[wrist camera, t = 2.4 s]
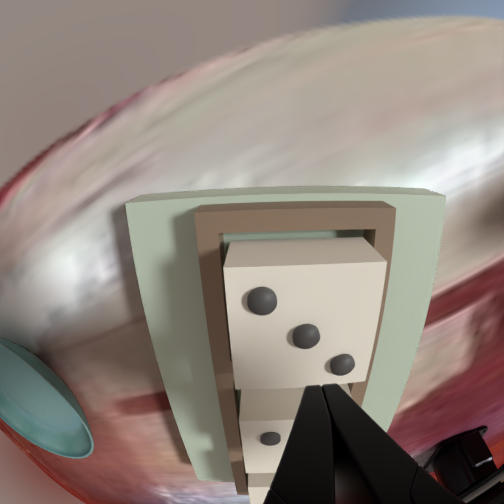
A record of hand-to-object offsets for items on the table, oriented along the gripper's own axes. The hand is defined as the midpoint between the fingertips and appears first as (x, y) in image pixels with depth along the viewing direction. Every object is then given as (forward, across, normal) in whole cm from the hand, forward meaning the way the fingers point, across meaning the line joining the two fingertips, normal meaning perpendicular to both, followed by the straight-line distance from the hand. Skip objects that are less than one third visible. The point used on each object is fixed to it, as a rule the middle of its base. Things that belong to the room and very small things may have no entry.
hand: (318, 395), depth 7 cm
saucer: (+9, +22, +11) cm, 26 cm away
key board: (+8, 0, +7) cm, 11 cm away
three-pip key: (+5, 0, 0) cm, 5 cm away
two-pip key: (+5, 0, +7) cm, 9 cm away
